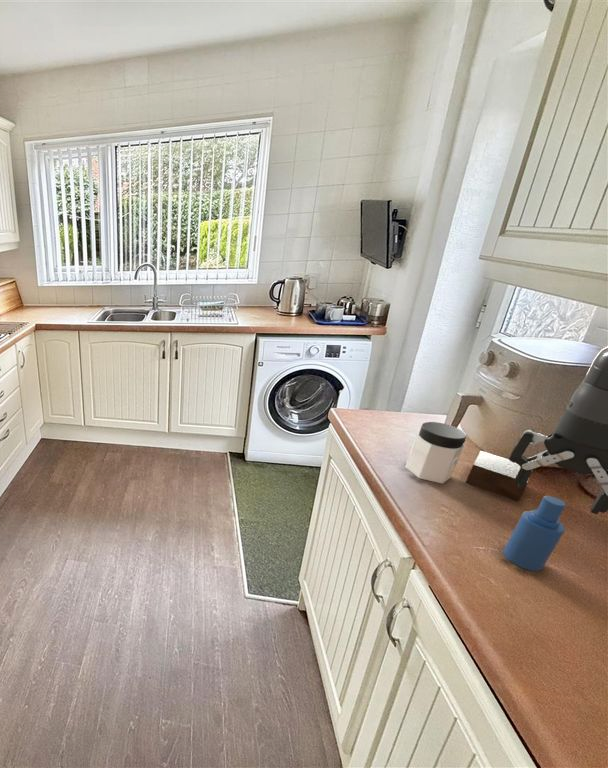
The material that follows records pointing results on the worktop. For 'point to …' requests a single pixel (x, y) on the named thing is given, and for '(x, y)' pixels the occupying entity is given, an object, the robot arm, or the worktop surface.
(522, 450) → the robot arm
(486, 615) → the worktop surface
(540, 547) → the bottle
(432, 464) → the jar
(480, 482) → the block
